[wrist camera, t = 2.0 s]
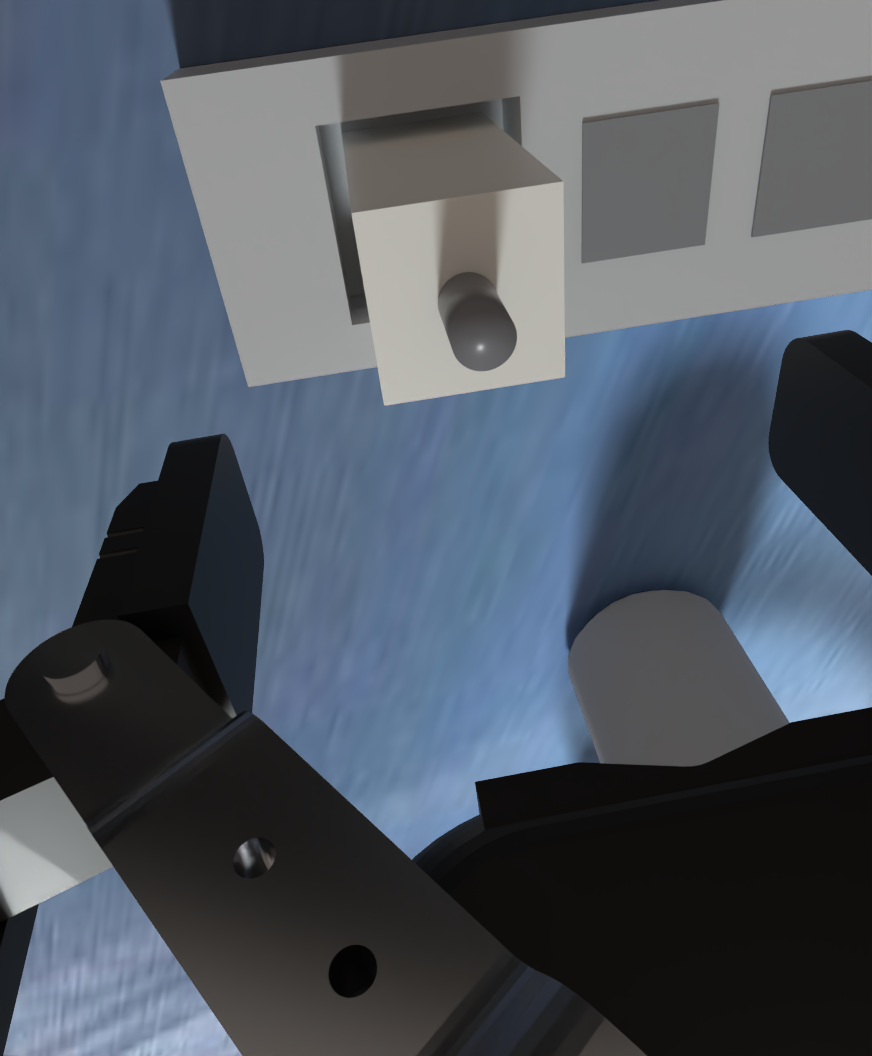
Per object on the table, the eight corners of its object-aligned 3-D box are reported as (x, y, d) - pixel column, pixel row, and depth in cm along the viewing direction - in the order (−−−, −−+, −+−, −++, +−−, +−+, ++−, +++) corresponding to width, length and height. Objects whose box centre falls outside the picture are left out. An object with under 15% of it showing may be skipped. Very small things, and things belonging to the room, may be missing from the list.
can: (748, 617, 36) (905, 853, 26) (635, 709, 39) (739, 950, 29) (644, 551, 32) (779, 793, 23) (530, 657, 35) (607, 909, 26)
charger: (481, 112, 21) (594, 207, 12) (490, 255, 24) (591, 420, 15) (341, 132, 21) (354, 243, 12) (365, 274, 23) (391, 452, 15)
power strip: (968, -44, 21) (1079, -48, 18) (894, 248, 26) (972, 285, 23) (179, 68, 20) (154, 84, 17) (255, 347, 25) (246, 398, 22)
